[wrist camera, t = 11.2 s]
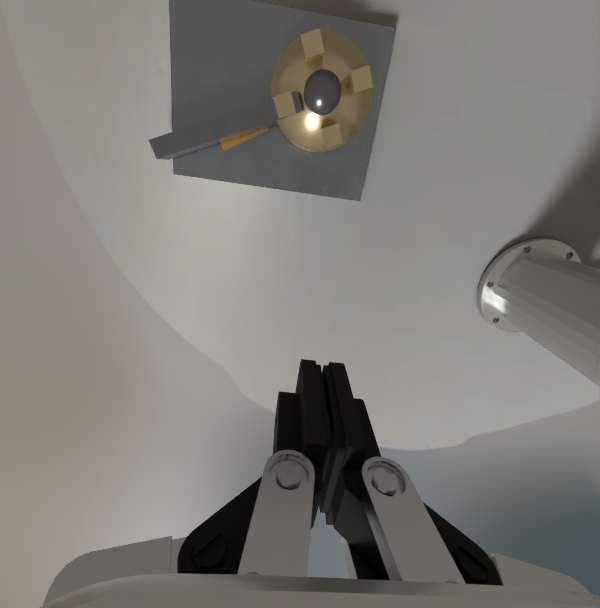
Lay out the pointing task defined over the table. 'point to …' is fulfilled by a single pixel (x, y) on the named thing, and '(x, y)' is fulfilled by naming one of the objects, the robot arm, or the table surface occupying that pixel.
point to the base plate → (262, 93)
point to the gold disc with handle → (295, 100)
